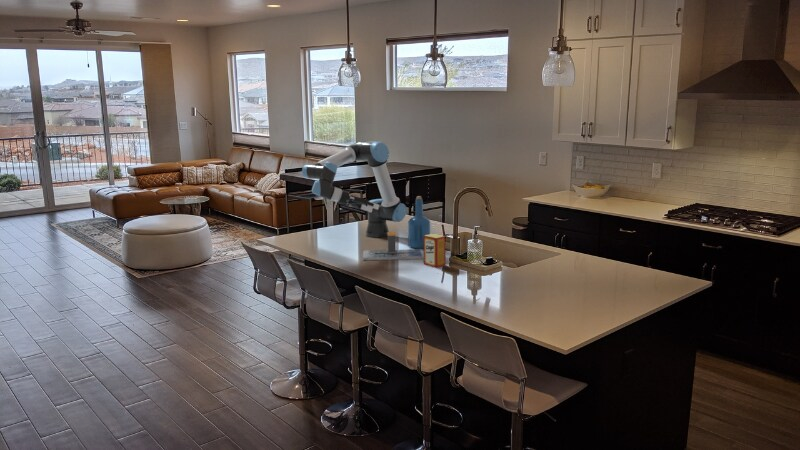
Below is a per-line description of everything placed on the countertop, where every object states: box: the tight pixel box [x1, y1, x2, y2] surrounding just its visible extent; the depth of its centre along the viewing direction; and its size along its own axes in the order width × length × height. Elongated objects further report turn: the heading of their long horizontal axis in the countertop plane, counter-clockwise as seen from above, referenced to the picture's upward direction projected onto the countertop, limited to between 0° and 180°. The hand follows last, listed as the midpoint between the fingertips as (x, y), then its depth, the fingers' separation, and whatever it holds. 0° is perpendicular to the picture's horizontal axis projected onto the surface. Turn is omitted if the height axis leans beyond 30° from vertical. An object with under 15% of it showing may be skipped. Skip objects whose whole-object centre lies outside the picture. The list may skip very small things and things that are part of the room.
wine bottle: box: [407, 195, 432, 250], centre depth 374 cm, size 14×13×30 cm
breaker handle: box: [385, 231, 398, 254], centre depth 354 cm, size 4×6×11 cm
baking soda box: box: [423, 233, 446, 268], centre depth 334 cm, size 10×6×16 cm
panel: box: [362, 248, 422, 261], centre depth 355 cm, size 16×32×2 cm, turn 92°
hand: (375, 208), depth 356 cm, fingers open, 13 cm apart
